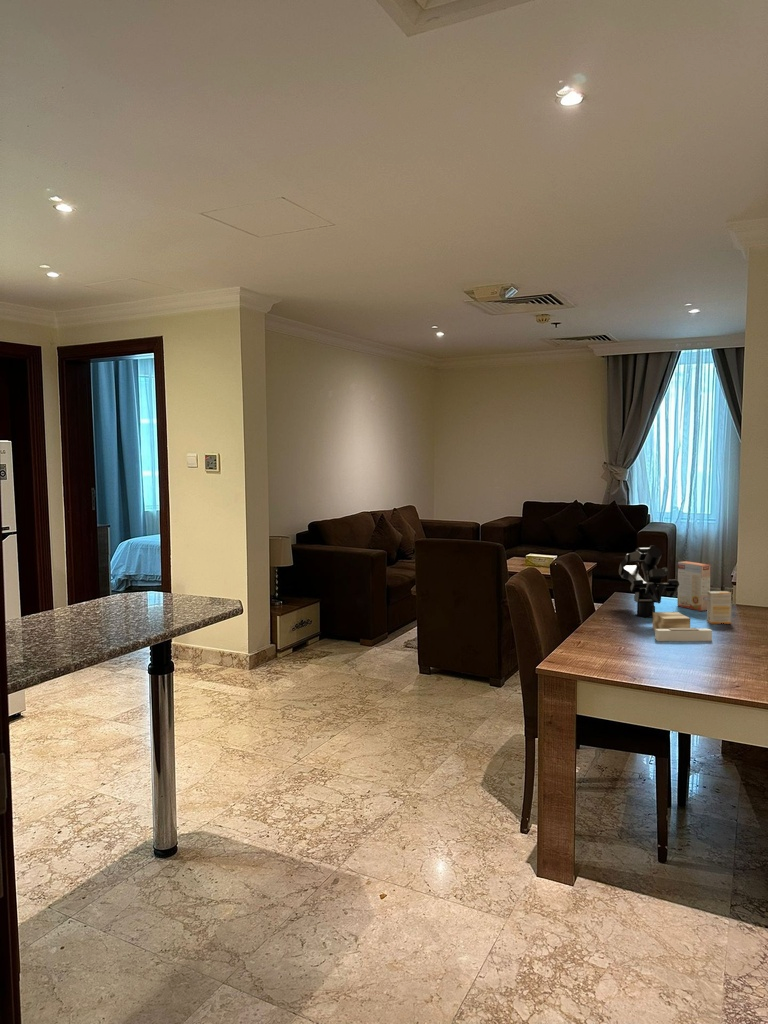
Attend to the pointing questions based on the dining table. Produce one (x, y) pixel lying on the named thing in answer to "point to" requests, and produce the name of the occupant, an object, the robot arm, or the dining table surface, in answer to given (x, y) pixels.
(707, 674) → the dining table surface
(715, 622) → the supplement box
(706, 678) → the dining table surface
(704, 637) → the cream board
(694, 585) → the cracker box
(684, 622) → the oak block
